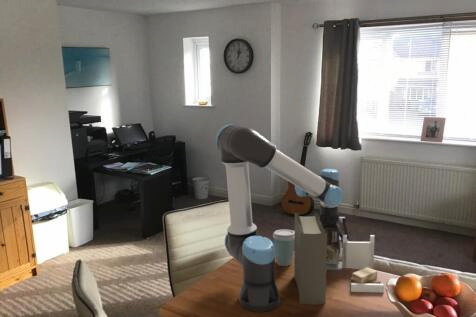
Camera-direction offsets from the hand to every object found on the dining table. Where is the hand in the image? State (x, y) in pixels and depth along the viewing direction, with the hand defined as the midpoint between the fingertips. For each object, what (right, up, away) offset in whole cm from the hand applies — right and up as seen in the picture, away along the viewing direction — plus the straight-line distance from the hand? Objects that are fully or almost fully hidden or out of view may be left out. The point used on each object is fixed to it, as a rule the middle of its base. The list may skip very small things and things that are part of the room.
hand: (328, 254), depth 180 cm
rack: (+11, -7, -12) cm, 18 cm away
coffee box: (0, -3, +1) cm, 3 cm away
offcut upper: (+10, -6, -17) cm, 21 cm away
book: (-12, -10, -19) cm, 25 cm away
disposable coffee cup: (-19, -5, +4) cm, 20 cm away
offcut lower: (+11, -9, -17) cm, 22 cm away
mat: (0, -5, +1) cm, 5 cm away
